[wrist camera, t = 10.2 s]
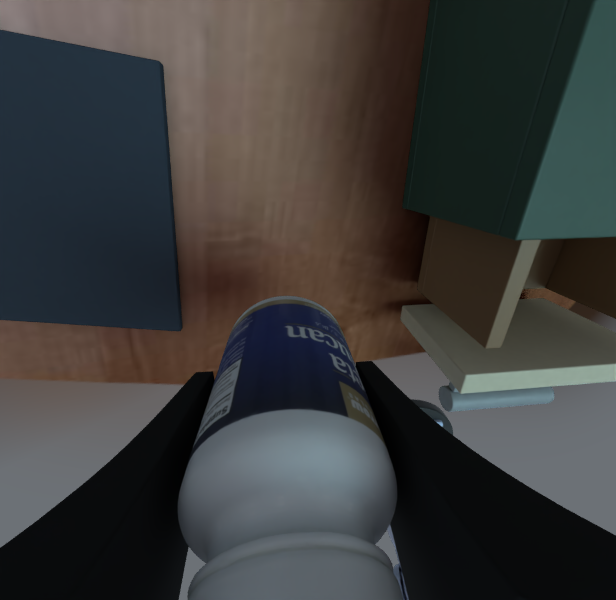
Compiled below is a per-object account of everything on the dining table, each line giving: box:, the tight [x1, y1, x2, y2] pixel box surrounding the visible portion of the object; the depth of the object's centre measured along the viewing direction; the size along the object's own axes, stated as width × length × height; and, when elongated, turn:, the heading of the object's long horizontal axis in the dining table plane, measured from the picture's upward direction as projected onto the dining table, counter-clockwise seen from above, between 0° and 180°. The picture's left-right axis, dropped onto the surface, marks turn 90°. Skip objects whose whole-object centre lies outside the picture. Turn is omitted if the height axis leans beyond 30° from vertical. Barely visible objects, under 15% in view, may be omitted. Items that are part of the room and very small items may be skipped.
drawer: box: [400, 216, 616, 412], centre depth 15 cm, size 17×11×7 cm, turn 1°
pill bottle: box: [178, 296, 403, 600], centre depth 8 cm, size 5×5×10 cm
